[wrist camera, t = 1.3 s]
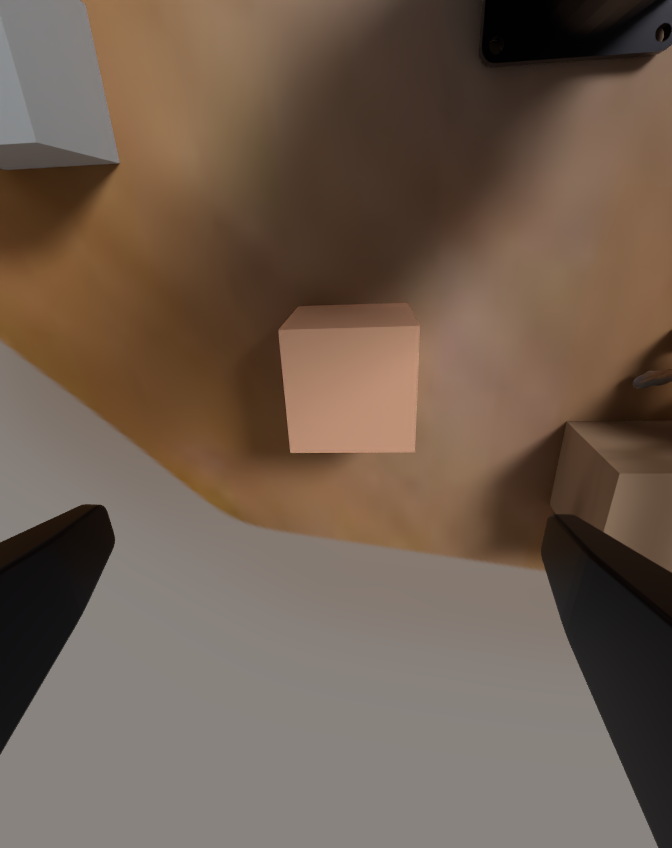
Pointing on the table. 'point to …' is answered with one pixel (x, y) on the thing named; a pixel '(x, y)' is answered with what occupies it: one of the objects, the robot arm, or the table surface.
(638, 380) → the lion figurine
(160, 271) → the table surface
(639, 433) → the walnut block
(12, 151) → the slate grey block
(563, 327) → the table surface
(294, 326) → the terracotta block
